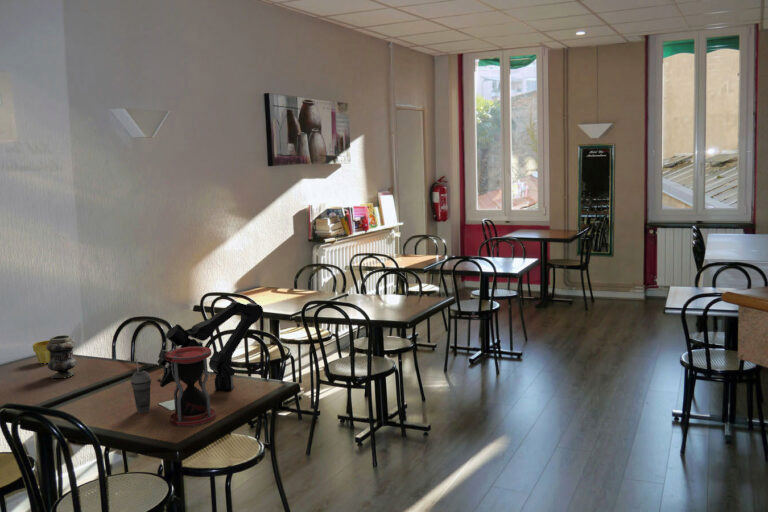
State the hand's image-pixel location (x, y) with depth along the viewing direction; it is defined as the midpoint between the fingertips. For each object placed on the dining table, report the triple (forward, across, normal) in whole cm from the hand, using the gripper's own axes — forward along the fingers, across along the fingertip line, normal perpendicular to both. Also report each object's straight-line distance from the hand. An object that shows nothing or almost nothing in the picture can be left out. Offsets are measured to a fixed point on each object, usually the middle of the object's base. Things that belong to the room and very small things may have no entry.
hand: (160, 386), depth 274 cm
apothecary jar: (+14, -74, -3) cm, 76 cm away
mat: (+2, +3, +9) cm, 10 cm away
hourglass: (+5, +22, +6) cm, 24 cm away
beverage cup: (+11, 0, 0) cm, 11 cm away
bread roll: (-8, -32, +20) cm, 38 cm away
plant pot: (+13, -105, -2) cm, 106 cm away
